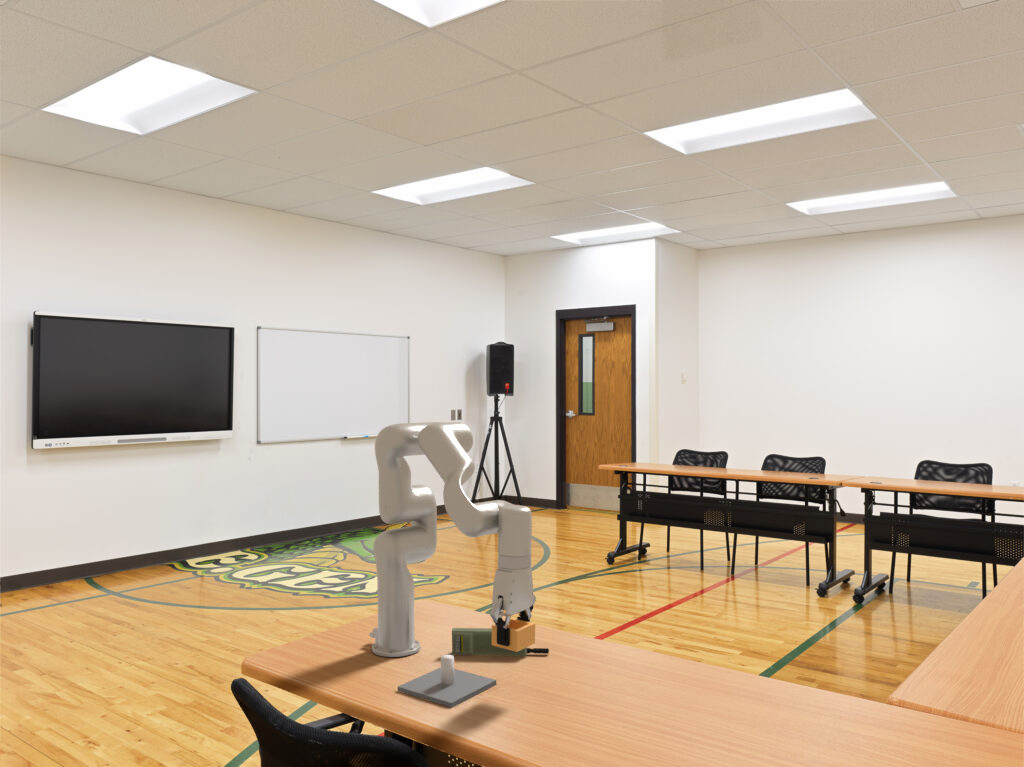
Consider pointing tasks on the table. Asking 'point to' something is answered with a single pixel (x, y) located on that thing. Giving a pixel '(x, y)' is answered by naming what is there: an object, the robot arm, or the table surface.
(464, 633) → the handheld radio
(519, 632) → the orange open box
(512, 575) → the robot arm
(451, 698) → the plate
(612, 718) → the table surface
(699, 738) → the table surface
